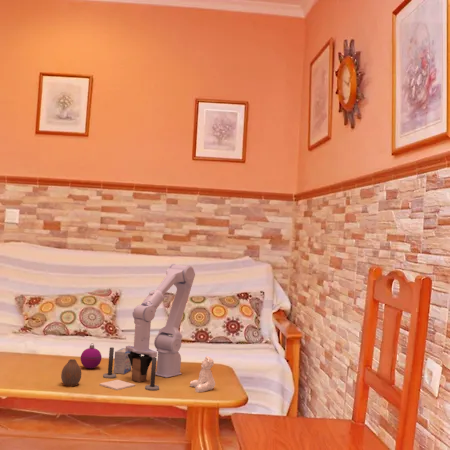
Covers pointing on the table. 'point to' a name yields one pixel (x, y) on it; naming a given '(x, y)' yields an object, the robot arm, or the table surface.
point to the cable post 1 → (110, 365)
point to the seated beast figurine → (204, 377)
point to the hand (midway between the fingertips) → (139, 373)
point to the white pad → (117, 384)
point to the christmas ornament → (91, 357)
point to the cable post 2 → (152, 377)
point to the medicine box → (122, 361)
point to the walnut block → (137, 371)
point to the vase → (71, 373)
